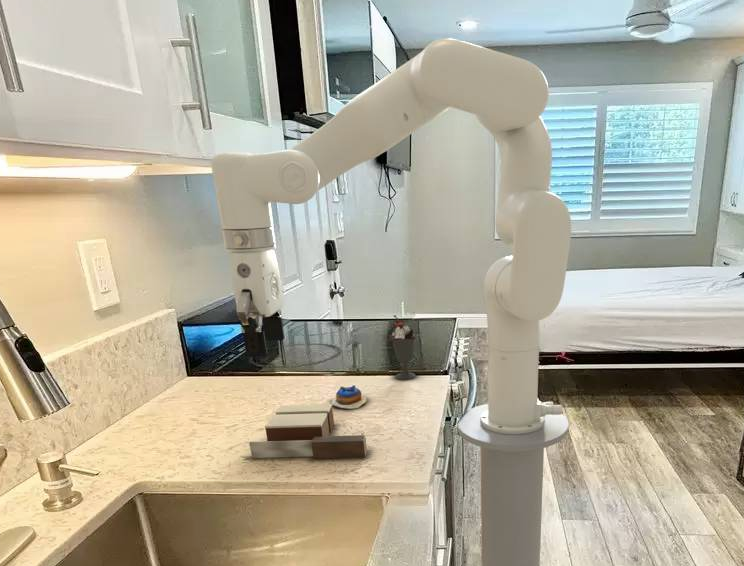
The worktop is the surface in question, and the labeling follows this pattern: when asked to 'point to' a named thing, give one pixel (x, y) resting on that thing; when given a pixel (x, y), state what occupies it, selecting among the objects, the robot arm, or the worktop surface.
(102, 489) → the worktop surface
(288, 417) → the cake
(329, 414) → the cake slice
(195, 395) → the worktop surface
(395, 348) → the sundae
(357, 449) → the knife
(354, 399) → the dessert
